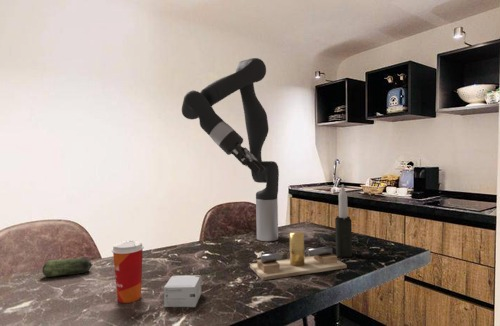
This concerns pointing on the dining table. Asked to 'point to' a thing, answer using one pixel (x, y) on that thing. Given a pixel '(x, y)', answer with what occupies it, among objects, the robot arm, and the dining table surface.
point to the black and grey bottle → (343, 228)
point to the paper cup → (128, 270)
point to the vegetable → (66, 267)
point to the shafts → (284, 256)
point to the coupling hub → (297, 248)
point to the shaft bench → (285, 269)
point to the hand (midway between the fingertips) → (260, 171)
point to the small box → (182, 291)
